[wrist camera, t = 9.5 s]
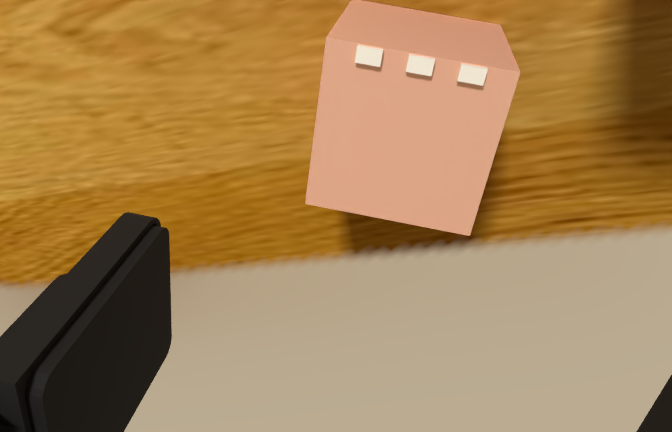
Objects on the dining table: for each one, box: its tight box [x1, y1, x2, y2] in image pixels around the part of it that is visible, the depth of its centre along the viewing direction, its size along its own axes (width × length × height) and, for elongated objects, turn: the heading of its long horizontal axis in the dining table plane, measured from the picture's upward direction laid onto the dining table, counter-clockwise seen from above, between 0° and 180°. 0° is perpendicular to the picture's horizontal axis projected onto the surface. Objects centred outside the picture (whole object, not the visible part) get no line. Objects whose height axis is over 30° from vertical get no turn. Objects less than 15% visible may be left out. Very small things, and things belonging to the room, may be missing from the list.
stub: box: [305, 0, 520, 236], centre depth 22 cm, size 6×6×7 cm
